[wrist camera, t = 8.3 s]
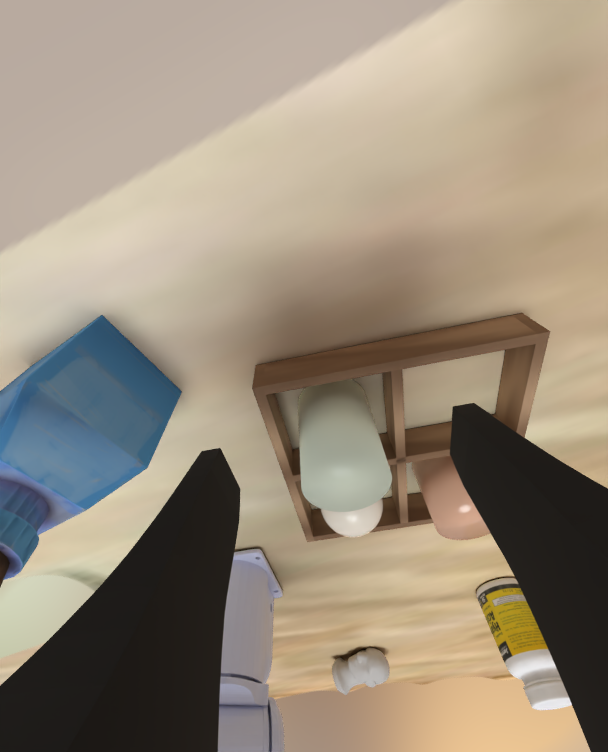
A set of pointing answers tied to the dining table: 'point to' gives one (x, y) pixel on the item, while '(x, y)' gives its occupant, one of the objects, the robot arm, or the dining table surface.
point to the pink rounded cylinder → (448, 499)
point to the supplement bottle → (522, 643)
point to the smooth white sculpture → (360, 670)
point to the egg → (354, 520)
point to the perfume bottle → (75, 434)
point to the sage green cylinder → (340, 448)
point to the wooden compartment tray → (401, 445)
